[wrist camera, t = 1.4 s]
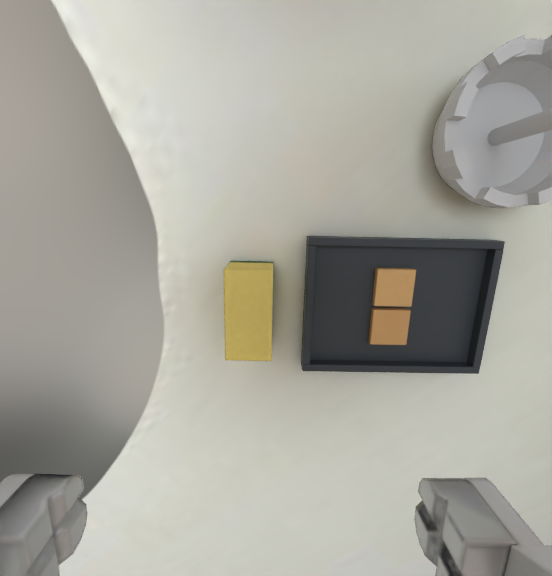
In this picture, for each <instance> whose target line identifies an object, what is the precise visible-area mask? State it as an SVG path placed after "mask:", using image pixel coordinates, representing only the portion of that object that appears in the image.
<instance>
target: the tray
mask: <svg viewBox="0 0 552 576" xmlns="http://www.w3.org/2000/svg"><path fill="white" fill-rule="evenodd" d="M504 243H505V242H504V241H497V240H478V239H431V238H385V237H338V236H307V245H306V267H305V289H304V311H303V333H302V354H301V365H302V370H303V371H342V372H409V373H476V374H478V373H479V369H480V365H481V360H482V355H483V350H484V345H485V340H486V335H487V330H488V325H489V320H490V315H491V310H492V305H493V299H494V294H495V289H496V284H497V279H498V274H499V269H500V264H501V259H502V254H503V248H504ZM376 268H413V269H415V270H416V276H415V284H414V291H413V299H412V306H411V307H401V306H374V305H373V304H372V299H373V289H374V279H375V269H376ZM372 308H408V309H409V310H411V313H410V320H409V328H408V335H407V343H406V345H376V344H370V343H369V342H368V339H369V329H370V319H371V310H372Z"/></svg>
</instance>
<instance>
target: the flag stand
mask: <svg viewBox="0 0 552 576" xmlns="http://www.w3.org/2000/svg"><path fill="white" fill-rule="evenodd" d="M432 148H433V158H434V162H435V165H436V168H437V170H438V172H439V174H440V176H441V178H442V179H443V180H444V181H445V182H446V184H447V185H448V186H450V187H451V188H452V189H454V190H455V191H457V192H458V193H460V194H461V195H462V196H463V197H465V198H466V199H467V200H470V201H472V202H474V203H476V204H478V205H482V206H486V207H491V208H516V207H521V206H526V205H540V204H543V203H545V202H548V201H550V200H552V36H550V37H548V38H547V39H527V40H525V35H523V36H521V37H518V38H516V39H514V40H512V41H509V42H507V43H506V44H504V45H503V46H502V47H500V48H499V49H497V50H496V51H494V52H493V53H491V54H490V55H489V56H487V57H486V58H484V59H483V60H482V61H480V62H479V63H477V64H476V65H474V66H473V67H472V68H471V69H470V70H469V71H468V72H467V73H466V74H465V75H464V76H463V77H462V78H461V80H460V81H459V82H458V84H457V85H456V87H455V88H454V89H453V91H452V92H451V94H450V96H449V98H448V100H447V102H446V104H445V106H444V108H443V110H442V112H441V114H440V116H439V118H438V120H437V123H436V126H435V130H434V134H433V143H432Z"/></svg>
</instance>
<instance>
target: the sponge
mask: <svg viewBox="0 0 552 576" xmlns="http://www.w3.org/2000/svg"><path fill="white" fill-rule="evenodd" d="M272 308H273V262H259V261H230V263H229V264H228V265H227V267H226V268H225V269H224V311H225V359H226V360H248V361H271V358H272Z"/></svg>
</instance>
